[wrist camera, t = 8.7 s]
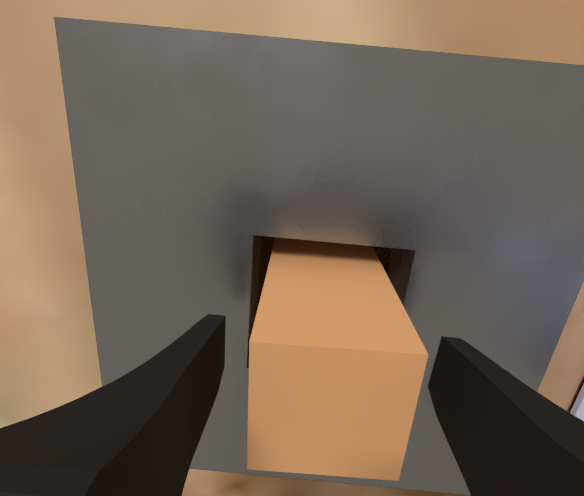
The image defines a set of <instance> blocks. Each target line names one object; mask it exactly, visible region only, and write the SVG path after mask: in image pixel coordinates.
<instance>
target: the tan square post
mask: <svg viewBox="0 0 584 496" xmlns="http://www.w3.org/2000/svg"><path fill="white" fill-rule="evenodd" d="M427 359H428V353H427V351H426V349H425V347H424V345H423V343H422V341H421V339H420V337H419V335H418V333H417V332H416V330H415V328H414V326H413V324H412V322H411V320H410V318H409V316H408V314H407V312H406V310H405V308H404V307H403V305H402V303H401V301H400V299H399V297H398V295H397V293H396V291H395V289H394V287H393V285H392V284H391V282H390V280H389V278H388V276H387V274H386V272H385V270H384V268H383V266H382V264H381V262H380V260H379V259H378V257H377V255H376V253H375V251H374V249H373V247H372V246H365V245H354V244H343V243H332V242H322V241H311V240H300V239H287V238H275V241H274V245H273V249H272V253H271V257H270V261H269V265H268V269H267V273H266V277H265V281H264V285H263V289H262V293H261V297H260V301H259V305H258V309H257V313H256V317H255V321H254V325H253V329H252V333H251V337H250V341H249V385H248V437H247V469H249V470H262V471H276V472H289V473H302V474H315V475H328V476H341V477H354V478H367V479H380V480H393V481H399V478H400V473H401V469H402V465H403V461H404V456H405V452H406V448H407V444H408V439H409V435H410V431H411V427H412V422H413V418H414V414H415V410H416V405H417V401H418V397H419V393H420V388H421V384H422V380H423V376H424V371H425V367H426V363H427Z"/></svg>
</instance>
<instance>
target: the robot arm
mask: <svg viewBox="0 0 584 496" xmlns="http://www.w3.org/2000/svg"><path fill="white" fill-rule="evenodd" d="M225 326H226V316H223V315H213V314H207V315H206V316H205V317H203V318H202V319H201V320H199V321H198V322H197V323H196V324H195V325H193V326H192V327H191V328H190V329H189V330H187V331H186V332H185V333H184V334H183V335H181V336H180V337H179V338H178V339H176V340H175V341H174V342H172V343H171V344H170V345H169V346H167V347H166V348H165V349H163V350H162V351H160V352H159V353H158V354H156V355H155V356H153V357H152V358H151V359H149V360H148V361H146V362H145V363H143V364H142V365H140V366H138V367H137V368H135V369H134V370H132V371H130V372H129V373H127V374H125V375H123V376H122V377H120V378H118V379H116V380H115V381H113V382H111V383H109V384H107V385H105V386H103V387H101V388H99V389H97V390H95V391H93V392H91V393H89V394H87V395H85V396H83V397H81V398H78V399H76V400H74V401H72V402H69V403H67V404H65V405H62V406H60V407H58V408H55V409H53V410H50V411H48V412H45V413H42V414H40V415H37V416H35V417H32V418H29V419H27V420H24V421H21V422H18V423H15V424H12V425H9V426H6V427H3V428H0V496H181V495H182V491H183V488H184V484H185V481H186V477H187V474H188V471H189V468H190V465H191V462H192V459H193V456H194V454H195V451H196V449H197V446H198V444H199V441H200V438H201V436H202V433H203V431H204V428H205V425H206V423H207V420H208V418H209V415H210V413H211V410H212V407H213V405H214V402H215V399H216V397H217V394H218V390H219V387H220V383H221V379H222V375H223V371H224V366H225ZM428 388H429V392H430V396H431V399H432V403H433V406H434V410H435V413H436V416H437V418H438V421H439V423H440V425H441V428H442V430H443V432H444V435H445V437H446V439H447V442H448V444H449V446H450V448H451V451H452V453H453V455H454V457H455V460H456V462H457V464H458V466H459V469H460V471H461V473H462V475H463V478H464V480H465V482H466V485H467V487H468V490H469V492H470V495H471V496H584V384H583V386H582V388H581V390H580V392H579V394H578V397H577V399H576V401H575V403H574V405H573V407H572V409H571V411H570V413H569V412H567V411H565V410H564V409H562V408H561V407H559V406H557V405H556V404H554V403H553V402H551V401H550V400H548V399H547V398H545V397H544V396H542V395H541V394H539V393H538V392H536V391H535V390H533V389H532V388H530V387H529V386H527V385H526V384H524V383H523V382H522V381H520V380H519V379H517V378H516V377H514V376H513V375H512V374H510V373H509V372H508V371H506V370H505V369H503V368H502V367H501V366H499V365H498V364H497V363H495V362H494V361H492V360H491V359H490V358H488V357H487V356H486V355H484V354H483V353H482V352H480V351H479V350H477V349H476V348H474V347H473V346H472V345H470V344H469V343H467V342H466V341H464V340H462V339H461V338H454V337H443V336H441V340H440V344H439V347H438V351H437V354H436V358H435V362H434V365H433V369H432V372H431V376H430V380H429V383H428Z"/></svg>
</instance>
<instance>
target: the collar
mask: <svg viewBox="0 0 584 496" xmlns="http://www.w3.org/2000/svg"><path fill="white" fill-rule="evenodd" d="M54 20H55V28H56V35H57V43H58V51H59V58H60V66H61V74H62V81H63V89H64V97H65V104H66V112H67V120H68V127H69V135H70V143H71V150H72V158H73V166H74V173H75V181H76V189H77V196H78V204H79V212H80V219H81V227H82V235H83V242H84V250H85V258H86V265H87V273H88V281H89V288H90V296H91V304H92V311H93V319H94V327H95V334H96V342H97V350H98V357H99V365H100V373H101V380H102V387H103V386H105V385H107V384H109V383H111V382H113V381H115V380H116V379H118V378H120V377H122V376H123V375H125V374H127V373H129V372H130V371H132V370H134V369H135V368H137V367H138V366H140V365H142V364H143V363H145V362H146V361H148V360H149V359H151V358H152V357H153V356H155V355H156V354H158V353H159V352H160V351H162V350H163V349H165V348H166V347H167V346H169V345H170V344H171V343H172V342H174V341H175V340H176V339H178V338H179V337H180V336H181V335H183V334H184V333H185V332H186V331H187V330H189V329H190V328H191V327H192V326H193V325H195V324H196V323H197V322H198V321H199V320H201V319H202V318H203V317H205V316H206V315H207V314H213V315H223V316H226V326H225V366H224V371H223V375H222V379H221V383H220V387H219V390H218V394H217V397H216V399H215V402H214V405H213V407H212V410H211V413H210V415H209V418H208V420H207V423H206V425H205V428H204V431H203V433H202V436H201V438H200V441H199V444H198V446H197V449H196V451H195V454H194V456H193V459H192V462H191V465H190V469H200V470H211V471H221V472H232V473H242V474H252V475H263V476H273V477H284V478H294V479H305V480H315V481H326V482H336V483H347V484H357V485H368V486H378V487H389V488H399V489H410V490H420V491H431V492H441V493H452V494H462V495H470V492H469V490H468V487H467V485H466V482H465V480H464V478H463V475H462V473H461V471H460V469H459V466H458V464H457V462H456V460H455V457H454V455H453V453H452V451H451V448H450V446H449V444H448V442H447V439H446V437H445V435H444V432H443V430H442V428H441V425H440V423H439V421H438V418H437V416H436V413H435V410H434V406H433V403H432V399H431V396H430V392H429V388H428V383H429V380H430V376H431V372H432V369H433V365H434V362H435V358H436V354H437V351H438V347H439V344H440V340H441V336H443V337H454V338H461V339H462V340H464V341H466V342H467V343H469V344H470V345H472V346H473V347H474V348H476V349H477V350H479V351H480V352H482V353H483V354H484V355H486V356H487V357H488V358H490V359H491V360H492V361H494V362H495V363H497V364H498V365H499V366H501V367H502V368H503V369H505V370H506V371H508V372H509V373H510V374H512V375H513V376H514V377H516V378H517V379H519V380H520V381H522V382H523V383H524V384H526V385H527V386H529V387H530V388H532V389H533V390H535V391H536V392H537V391H538V388H539V386H540V383H541V381H542V379H543V376H544V374H545V372H546V369H547V367H548V364H549V362H550V360H551V357H552V355H553V353H554V350H555V348H556V345H557V343H558V341H559V338H560V336H561V333H562V331H563V329H564V326H565V324H566V322H567V319H568V317H569V314H570V312H571V310H572V307H573V305H574V302H575V300H576V298H577V295H578V293H579V291H580V288H581V286H582V283H583V281H584V65H574V64H563V63H552V62H541V61H530V60H519V59H508V58H497V57H487V56H476V55H465V54H454V53H443V52H432V51H421V50H410V49H399V48H388V47H377V46H366V45H355V44H345V43H334V42H323V41H312V40H301V39H290V38H279V37H268V36H257V35H246V34H235V33H224V32H213V31H203V30H192V29H181V28H170V27H159V26H148V25H137V24H126V23H115V22H104V21H93V20H82V19H71V18H61V17H54ZM261 236H268V237H279V238H290V239H300V240H311V241H322V242H332V243H343V244H354V245H365V246H375V247H386V248H392V249H391V254H390V259H389V264H388V269H387V276H388V278H389V280H390V282H391V284H392V285H393V287H394V289H395V291H396V293H397V295H398V297H399V299H400V301H401V303H402V305H403V307H404V308H405V310H406V312H407V314H408V316H409V318H410V320H411V322H412V324H413V326H414V328H415V330H416V332H417V333H418V335H419V337H420V339H421V341H422V343H423V345H424V347H425V349H426V351H427V353H428V359H427V363H426V367H425V371H424V376H423V380H422V384H421V388H420V393H419V397H418V401H417V405H416V410H415V414H414V418H413V422H412V427H411V431H410V435H409V439H408V444H407V448H406V452H405V456H404V461H403V465H402V469H401V473H400V478H399V481H393V480H380V479H367V478H354V477H341V476H328V475H315V474H302V473H289V472H276V471H262V470H249V469H247V437H248V385H249V341H250V337H251V333H252V329H253V325H254V321H255V317H256V313H257V301H258V284H259V267H260V250H261Z"/></svg>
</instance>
